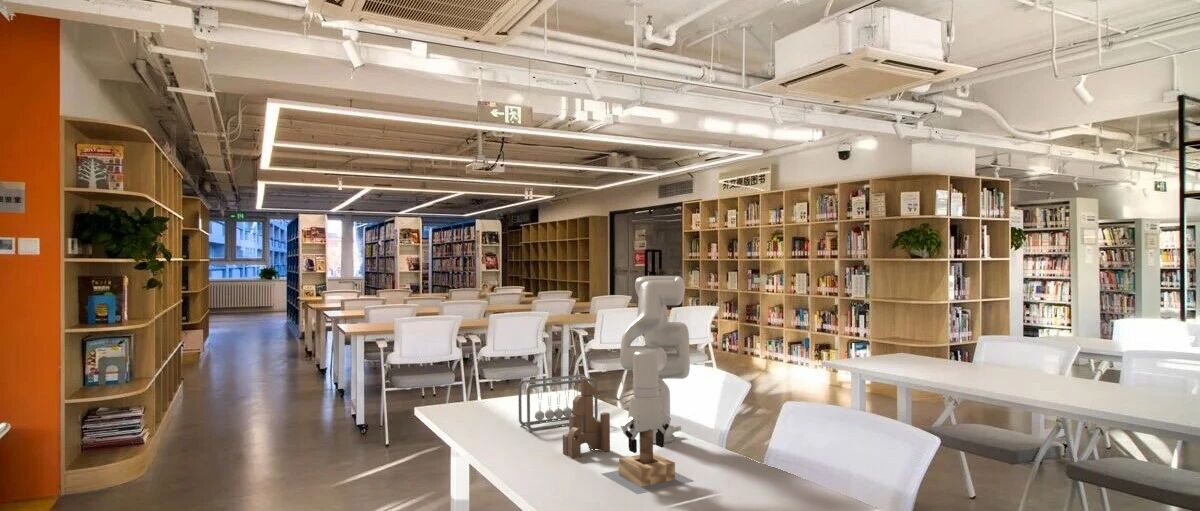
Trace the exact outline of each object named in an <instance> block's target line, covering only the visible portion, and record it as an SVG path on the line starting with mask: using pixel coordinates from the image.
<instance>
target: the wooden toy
mask: <svg viewBox="0 0 1200 511" xmlns="http://www.w3.org/2000/svg"><path fill="white" fill-rule="evenodd" d="M580 379H581V382H580V394H576V395H575V397H574V398H573V400H572V408H573V414H571V415H569V419H568V423H569V426H568V429H569V430H568V433H566V434H565V433H563V435H562V453H564V454H563V455H565V456H568V457H570V458H571V457H575V458H579V457H578V456H580V457H581V452H582V451H581V449H582V448H581V445H583V444H586V445H587V446H588V449H589V448H591V449H593V450H595V449H600V451H601V450H602V451H601V452H603V451H608V452H609V450H611V427H610V426H611V416H610V413H609V412H605V411H604V412H601V413H600V414H599V416H600V417H599V418H600V419H599V420H600V421H599V420H595V416H594V396H595V395H597V396H598V395H600V392H599V391H598V389H597V390H596V389H595V386H593V385H592V384H591V383H590V381H587V380H586V379H584V378H583V377H580ZM591 449H590V450H591ZM593 450H592V451H593ZM595 451H596V450H595Z"/></svg>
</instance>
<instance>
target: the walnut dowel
mask: <svg viewBox="0 0 1200 511" xmlns="http://www.w3.org/2000/svg"><path fill="white" fill-rule="evenodd" d="M638 434H639V436H638V437H639V455H640V463H642V464H644V465H645V464H650V463H653V453H654V443H653V430H651V429H649V430H648V431H645V432H639V433H638Z"/></svg>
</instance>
